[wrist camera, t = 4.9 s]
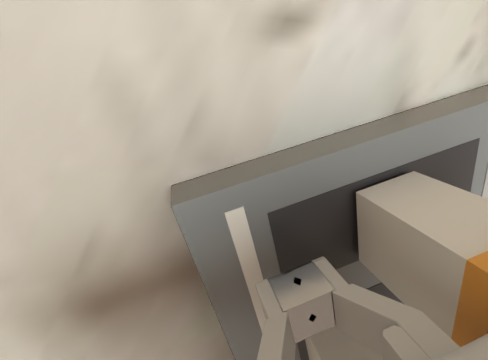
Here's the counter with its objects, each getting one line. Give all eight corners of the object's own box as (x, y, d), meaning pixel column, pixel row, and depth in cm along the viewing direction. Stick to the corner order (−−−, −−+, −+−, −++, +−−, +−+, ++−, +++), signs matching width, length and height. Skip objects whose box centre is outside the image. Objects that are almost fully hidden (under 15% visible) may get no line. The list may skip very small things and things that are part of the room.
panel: (495, 82, 14) (772, 84, 7) (448, 333, 23) (553, 430, 16) (171, 185, 11) (168, 326, 5) (266, 422, 20) (307, 576, 14)
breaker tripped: (414, 169, 11) (596, 237, 6) (410, 240, 13) (551, 335, 8) (354, 191, 11) (501, 281, 6) (358, 261, 13) (474, 375, 8)
